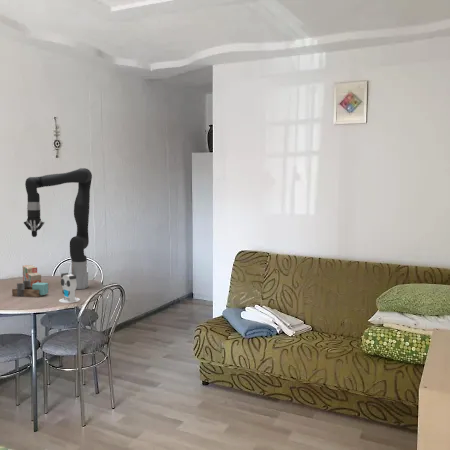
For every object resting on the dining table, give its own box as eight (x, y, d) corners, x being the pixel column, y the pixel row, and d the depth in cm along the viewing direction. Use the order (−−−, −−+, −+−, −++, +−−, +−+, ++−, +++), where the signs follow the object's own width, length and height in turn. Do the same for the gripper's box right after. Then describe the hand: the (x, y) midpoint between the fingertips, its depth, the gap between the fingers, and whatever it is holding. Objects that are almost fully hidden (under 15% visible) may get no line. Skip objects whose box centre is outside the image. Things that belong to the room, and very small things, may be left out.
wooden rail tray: (45, 293, 286) (44, 281, 285) (38, 297, 278) (38, 284, 277) (19, 292, 288) (19, 280, 287) (12, 296, 279) (12, 283, 279)
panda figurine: (55, 299, 273) (54, 273, 271) (73, 296, 281) (73, 271, 279) (64, 304, 264) (64, 277, 263) (83, 300, 272) (83, 274, 271)
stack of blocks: (41, 289, 297) (41, 269, 296) (30, 290, 294) (30, 270, 292) (32, 282, 315) (32, 264, 313) (22, 284, 311) (22, 265, 310)
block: (48, 292, 284) (48, 282, 284) (44, 295, 279) (43, 284, 279) (36, 292, 285) (36, 282, 284) (32, 294, 280) (32, 284, 279)
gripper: (46, 209, 301) (47, 236, 303) (26, 208, 302) (27, 235, 304) (41, 209, 294) (41, 237, 296) (20, 209, 295) (21, 237, 297)
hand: (34, 236), depth 300 cm, fingers closed
